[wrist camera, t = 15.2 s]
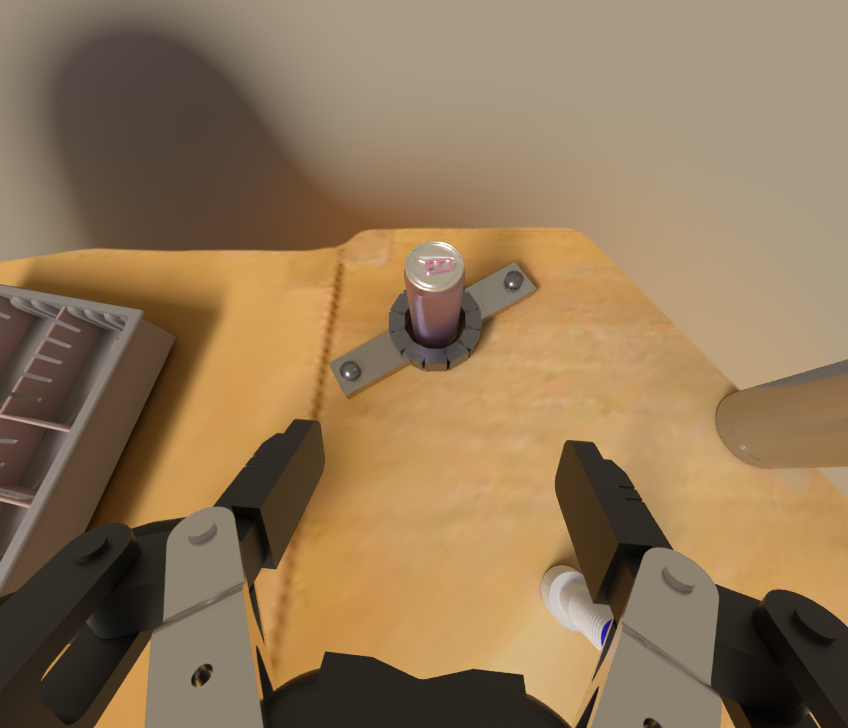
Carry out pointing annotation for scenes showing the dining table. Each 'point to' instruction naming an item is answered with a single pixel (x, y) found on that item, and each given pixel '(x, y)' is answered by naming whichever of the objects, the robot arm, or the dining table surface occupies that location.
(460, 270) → the beverage can
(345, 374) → the pipe clamp bracket
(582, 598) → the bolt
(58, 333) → the organizer tray
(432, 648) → the dining table surface
